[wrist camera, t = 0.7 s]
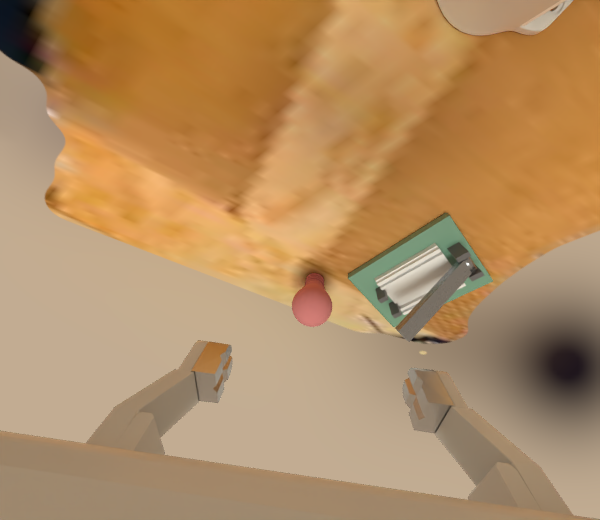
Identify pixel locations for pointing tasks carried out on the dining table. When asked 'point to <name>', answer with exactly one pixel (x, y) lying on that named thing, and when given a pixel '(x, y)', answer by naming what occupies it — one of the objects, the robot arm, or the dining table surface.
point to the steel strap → (435, 298)
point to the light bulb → (312, 302)
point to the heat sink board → (416, 269)
